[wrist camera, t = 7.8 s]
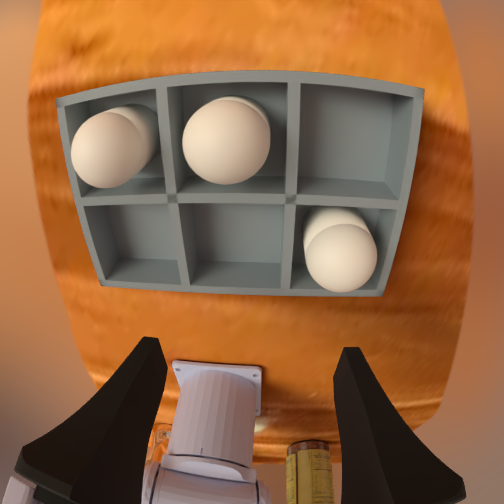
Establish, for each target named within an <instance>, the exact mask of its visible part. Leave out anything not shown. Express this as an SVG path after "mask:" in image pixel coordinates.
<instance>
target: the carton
mask: <svg viewBox="0 0 504 504" xmlns="http://www.w3.org/2000/svg"><path fill="white" fill-rule="evenodd" d="M231 94H238V95H244V96H247V97H249V98H252V99H253V100H255V101H256V102H258V103H259V104H260V105H261V106H262V107H263V108H264V110H265V111H266V113H267V115H268V117H269V120H270V127H271V134H270V149H269V153H268V156H267V159H266V161H265V162H264V164H263V166H262V167H261V168H260V169H259V170H258V171H257V172H256V173H255V174H254V175H253V176H252V177H250V178H248V179H247V180H245V181H242V182H239V183H236V184H229V185H222V184H215V183H212V182H209V181H207V180H205V179H203V178H201V177H200V176H199V175H197V174H196V173H195V172H194V171H193V170H192V169H191V167H190V166H189V164H188V163H187V161H186V158H185V155H184V152H183V146H182V139H183V133H184V130H185V127H186V125H187V123H188V121H189V119H190V118H191V117H192V115H193V114H194V113H195V112H196V111H197V110H198V109H200V108H201V107H202V106H204V105H206V104H208V103H210V102H211V101H213V100H215V99H217V98H219V97H222V96H225V95H231ZM423 100H424V89H423V88H418V87H414V86H409V85H404V84H399V83H394V82H388V81H382V80H376V79H370V78H363V77H356V76H348V75H339V74H329V73H317V72H302V71H276V70H243V71H217V72H202V73H190V74H180V75H171V76H163V77H156V78H149V79H142V80H136V81H130V82H125V83H120V84H114V85H110V86H105V87H100V88H96V89H91V90H87V91H83V92H79V93H75V94H72V95H68V96H64V97H61V98H57V99H56V105H57V113H58V120H59V127H60V133H61V139H62V145H63V150H64V155H65V160H66V165H67V170H68V175H69V179H70V184H71V188H72V192H73V196H74V200H75V204H76V208H77V211H78V215H79V219H80V222H81V226H82V229H83V233H84V236H85V239H86V243H87V246H88V249H89V252H90V255H91V258H92V261H93V264H94V267H95V270H96V273H97V276H98V279H99V281H100V284H101V286H107V287H120V288H133V289H147V290H162V291H179V292H197V293H218V294H243V295H276V296H383V293H384V290H385V287H386V284H387V280H388V277H389V274H390V270H391V267H392V263H393V260H394V256H395V253H396V249H397V245H398V241H399V237H400V233H401V229H402V225H403V221H404V217H405V212H406V208H407V203H408V199H409V194H410V189H411V184H412V179H413V173H414V167H415V162H416V156H417V149H418V142H419V135H420V128H421V119H422V110H423ZM130 103H136V104H141V105H144V106H146V107H148V108H149V109H151V110H152V111H153V112H154V113H155V114H156V115H157V117H158V122H159V133H160V143H161V149H160V151H159V153H158V154H157V156H156V157H155V158H154V159H153V160H152V161H151V162H149V163H148V164H147V165H146V166H145V167H144V168H143V169H141V170H140V171H139V172H138V173H137V174H136V175H135V176H133V177H132V178H131V179H130V180H129V181H127V182H126V183H124V184H122V185H120V186H117V187H114V188H97V187H94V186H92V185H89V184H88V183H86V182H85V181H83V180H82V179H81V178H80V177H79V175H78V174H77V172H76V171H75V169H74V166H73V164H72V159H71V146H72V142H73V139H74V136H75V134H76V132H77V131H78V129H79V128H80V127H81V125H82V124H83V123H84V122H86V121H87V120H88V119H89V118H91V117H92V116H94V115H97V114H99V113H102V112H104V111H107V110H110V109H113V108H116V107H119V106H122V105H125V104H130ZM315 205H322V206H344V207H356V208H357V209H358V211H359V212H360V214H361V216H362V218H363V220H364V222H365V224H366V226H367V228H368V230H369V232H370V234H371V236H372V238H373V240H374V242H375V245H376V249H377V263H376V267H375V270H374V272H373V274H372V275H371V277H370V278H369V280H368V281H367V282H366V283H365V284H364V285H362V286H361V287H359V288H358V289H355V290H353V291H350V292H333V291H330V290H327V289H325V288H323V287H322V286H320V285H319V284H318V283H317V282H316V281H315V280H314V279H313V278H312V276H311V275H310V273H309V271H308V268H307V265H306V259H305V252H304V245H303V238H302V231H301V227H302V222H303V219H304V217H305V215H306V213H307V212H308V211H309V210H310V209H311V208H312V207H313V206H315Z"/></svg>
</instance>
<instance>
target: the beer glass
mask: <svg viewBox="0 0 504 504" xmlns="http://www.w3.org/2000/svg"><path fill="white" fill-rule="evenodd" d="M171 430H172V425H170V424H156V425H154V426H153V428H152V443H151V448H150V452H149V455H148V457H147V459H146V461H145V467H146V466H147V465H149V464H151V463H152V462H153V461H158V462H160V463H161V461H162V456H163V454H166V452H167V448H168V443H169V439H170V434H171ZM144 469H145V468H144Z"/></svg>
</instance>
